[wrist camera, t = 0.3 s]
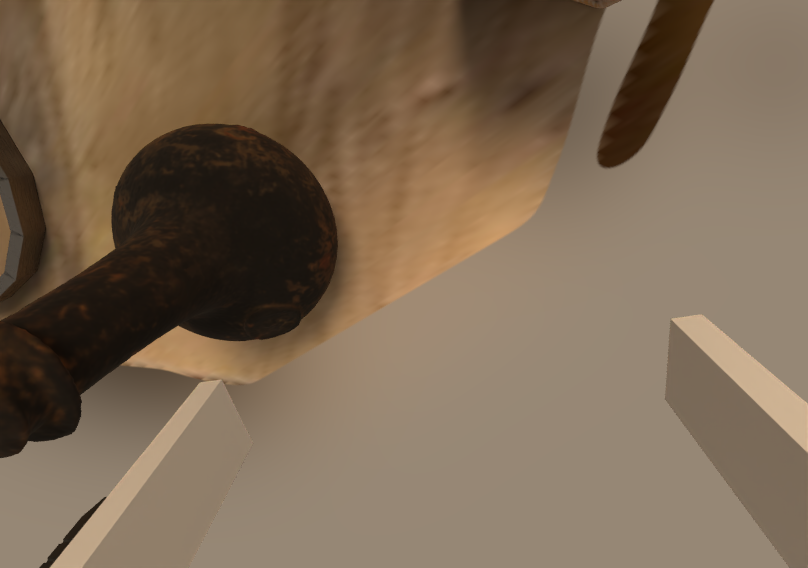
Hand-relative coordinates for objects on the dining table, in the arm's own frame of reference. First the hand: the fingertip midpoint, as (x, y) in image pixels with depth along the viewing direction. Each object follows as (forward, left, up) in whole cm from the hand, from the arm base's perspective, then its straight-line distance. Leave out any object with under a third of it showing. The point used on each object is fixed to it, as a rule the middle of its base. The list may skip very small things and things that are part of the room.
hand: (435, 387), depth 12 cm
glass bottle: (-1, -17, -28) cm, 33 cm away
